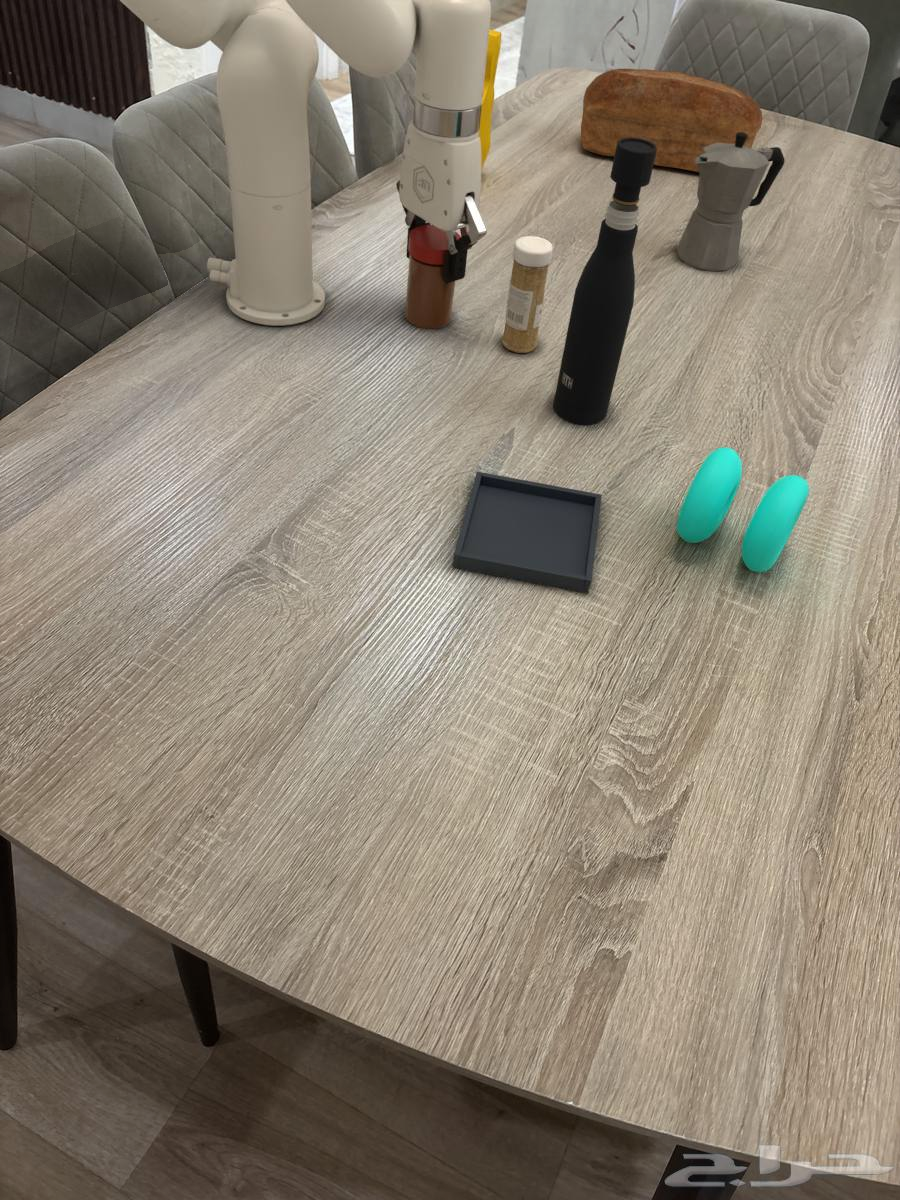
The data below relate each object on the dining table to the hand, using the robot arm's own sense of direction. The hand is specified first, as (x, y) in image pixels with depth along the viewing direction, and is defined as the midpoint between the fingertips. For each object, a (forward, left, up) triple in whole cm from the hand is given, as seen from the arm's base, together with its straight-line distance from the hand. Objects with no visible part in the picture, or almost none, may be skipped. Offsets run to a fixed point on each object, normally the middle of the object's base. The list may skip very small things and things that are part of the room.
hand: (435, 266), depth 118 cm
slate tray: (+18, -39, -7) cm, 43 cm away
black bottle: (+21, -15, -7) cm, 27 cm away
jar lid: (0, 0, +4) cm, 4 cm away
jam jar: (0, 0, -7) cm, 7 cm away
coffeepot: (+37, +32, -7) cm, 49 cm away
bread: (+28, +69, -7) cm, 75 cm away
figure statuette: (-4, +46, -7) cm, 47 cm away
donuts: (+38, -35, -7) cm, 52 cm away
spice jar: (+12, -3, -7) cm, 14 cm away
